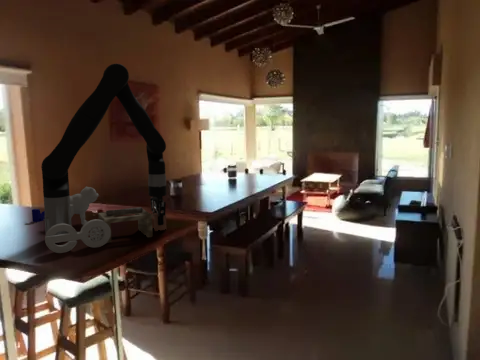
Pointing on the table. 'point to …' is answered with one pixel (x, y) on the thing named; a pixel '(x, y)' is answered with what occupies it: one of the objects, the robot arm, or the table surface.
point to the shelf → (129, 219)
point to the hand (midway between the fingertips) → (158, 223)
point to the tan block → (155, 222)
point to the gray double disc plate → (78, 235)
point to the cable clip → (37, 215)
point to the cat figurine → (82, 202)
